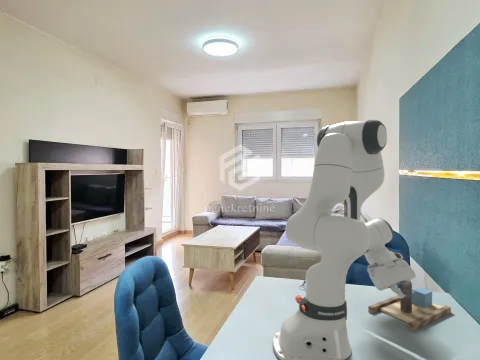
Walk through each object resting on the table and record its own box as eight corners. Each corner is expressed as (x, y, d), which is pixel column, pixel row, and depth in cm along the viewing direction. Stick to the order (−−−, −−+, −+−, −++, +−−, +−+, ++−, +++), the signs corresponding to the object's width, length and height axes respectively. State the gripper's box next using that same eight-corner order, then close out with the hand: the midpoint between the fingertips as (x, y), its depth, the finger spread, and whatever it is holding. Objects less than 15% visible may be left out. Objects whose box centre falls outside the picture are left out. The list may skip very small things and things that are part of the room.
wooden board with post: (413, 325, 97) (413, 291, 97) (380, 310, 108) (380, 280, 107) (444, 310, 107) (444, 280, 107) (411, 298, 118) (411, 271, 118)
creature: (296, 288, 135) (304, 291, 128) (294, 276, 136) (303, 278, 129) (311, 286, 137) (320, 288, 130) (310, 274, 138) (319, 276, 131)
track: (413, 334, 94) (413, 325, 94) (368, 313, 107) (368, 306, 107) (450, 314, 106) (450, 307, 106) (406, 299, 120) (406, 292, 119)
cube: (424, 308, 107) (424, 294, 107) (411, 303, 111) (410, 289, 111) (432, 304, 110) (432, 291, 110) (418, 300, 114) (418, 287, 114)
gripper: (370, 261, 106) (396, 298, 98) (403, 253, 116) (429, 285, 108) (359, 270, 110) (384, 306, 102) (392, 261, 120) (417, 293, 112)
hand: (407, 295), depth 105 cm, fingers closed on wooden board with post, 4 cm apart
